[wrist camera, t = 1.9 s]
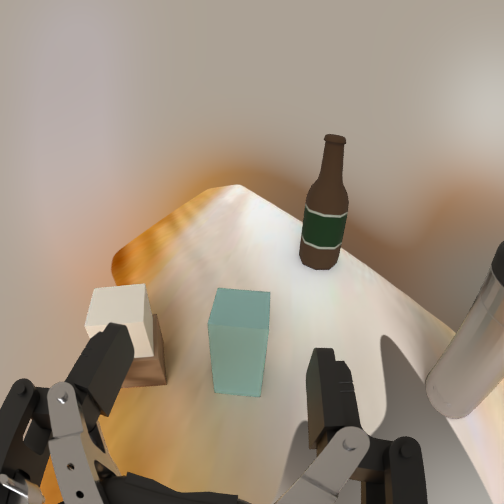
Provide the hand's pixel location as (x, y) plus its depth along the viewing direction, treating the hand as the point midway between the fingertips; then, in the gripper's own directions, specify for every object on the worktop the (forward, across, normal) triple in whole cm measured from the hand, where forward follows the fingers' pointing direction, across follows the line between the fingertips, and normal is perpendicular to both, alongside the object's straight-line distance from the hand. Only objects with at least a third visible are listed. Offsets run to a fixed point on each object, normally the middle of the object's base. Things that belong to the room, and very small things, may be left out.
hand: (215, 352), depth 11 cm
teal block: (+11, 0, +18) cm, 21 cm away
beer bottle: (+39, -12, +18) cm, 45 cm away
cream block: (+11, +12, +13) cm, 21 cm away
